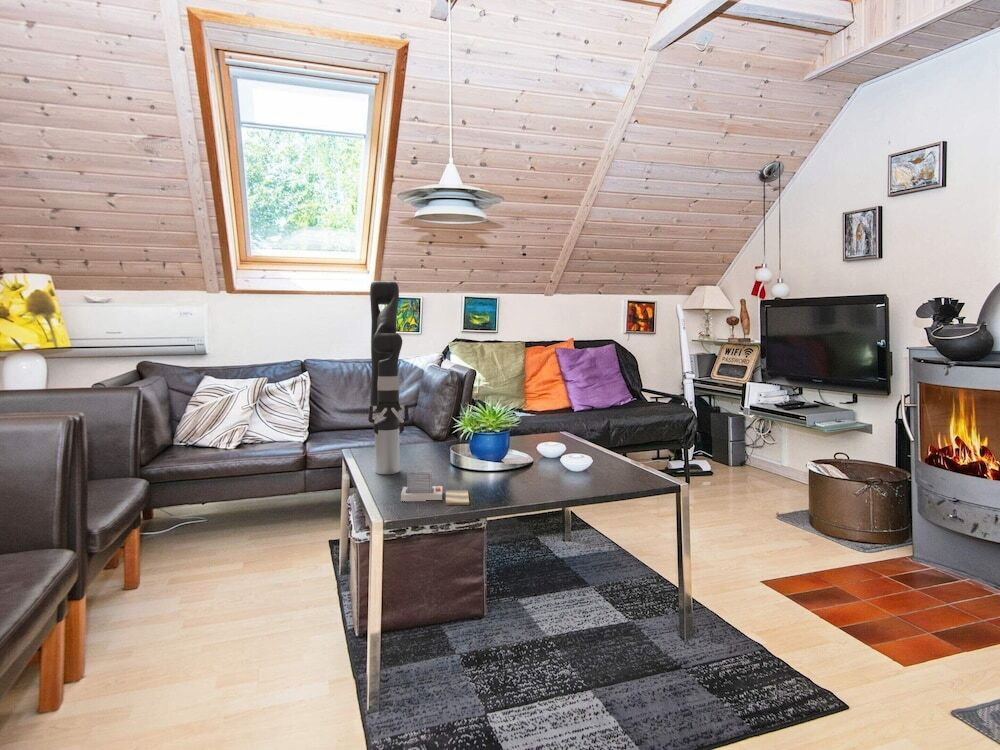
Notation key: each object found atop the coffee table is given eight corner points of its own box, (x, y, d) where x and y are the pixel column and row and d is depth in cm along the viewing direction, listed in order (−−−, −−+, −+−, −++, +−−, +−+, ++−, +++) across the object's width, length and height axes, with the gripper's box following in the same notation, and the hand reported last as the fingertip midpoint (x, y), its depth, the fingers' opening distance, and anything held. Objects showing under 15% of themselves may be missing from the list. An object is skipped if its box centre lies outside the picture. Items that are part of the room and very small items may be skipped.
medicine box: (432, 495, 221) (432, 470, 220) (430, 499, 216) (430, 473, 215) (409, 495, 221) (408, 470, 220) (407, 498, 216) (407, 473, 215)
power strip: (404, 486, 231) (404, 478, 231) (442, 485, 232) (442, 478, 232) (401, 501, 213) (400, 493, 213) (442, 500, 214) (442, 492, 214)
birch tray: (445, 493, 223) (445, 490, 223) (467, 492, 224) (467, 490, 224) (445, 505, 209) (445, 502, 209) (469, 504, 210) (469, 502, 210)
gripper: (406, 387, 238) (407, 431, 239) (367, 388, 234) (368, 433, 235) (409, 388, 231) (410, 434, 231) (368, 389, 227) (369, 435, 227)
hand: (388, 433), depth 233 cm, fingers open, 8 cm apart
